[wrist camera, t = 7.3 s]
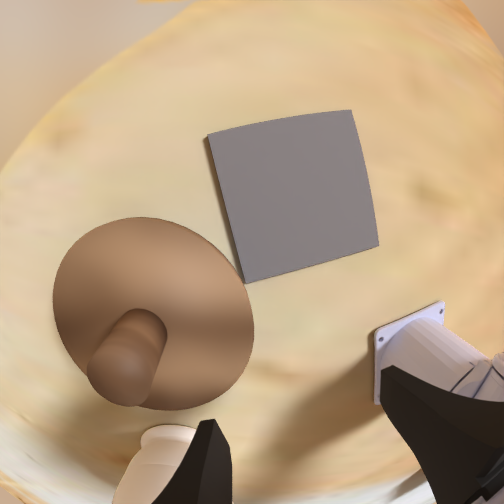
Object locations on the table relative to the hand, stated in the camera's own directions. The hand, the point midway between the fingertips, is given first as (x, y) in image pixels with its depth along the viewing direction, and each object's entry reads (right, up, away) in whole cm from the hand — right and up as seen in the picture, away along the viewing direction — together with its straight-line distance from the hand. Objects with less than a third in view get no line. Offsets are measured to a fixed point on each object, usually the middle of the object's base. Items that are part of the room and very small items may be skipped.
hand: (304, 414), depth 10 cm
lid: (-8, +3, +5) cm, 10 cm away
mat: (+1, +11, +8) cm, 13 cm away
